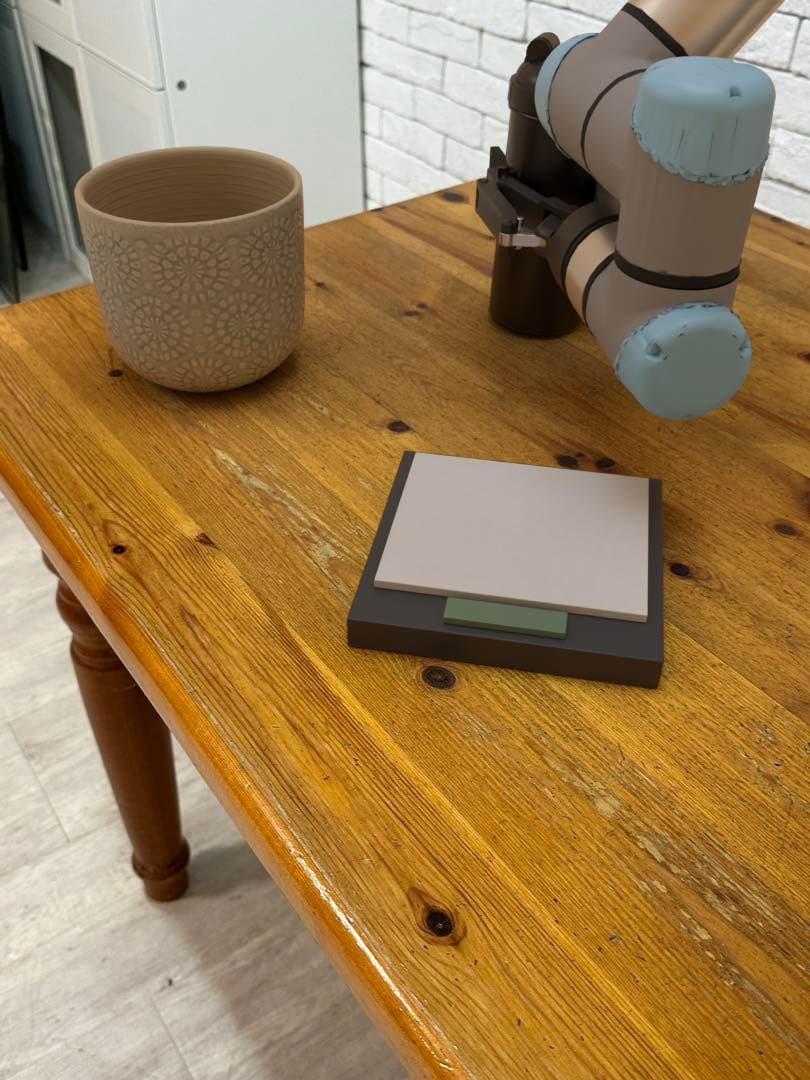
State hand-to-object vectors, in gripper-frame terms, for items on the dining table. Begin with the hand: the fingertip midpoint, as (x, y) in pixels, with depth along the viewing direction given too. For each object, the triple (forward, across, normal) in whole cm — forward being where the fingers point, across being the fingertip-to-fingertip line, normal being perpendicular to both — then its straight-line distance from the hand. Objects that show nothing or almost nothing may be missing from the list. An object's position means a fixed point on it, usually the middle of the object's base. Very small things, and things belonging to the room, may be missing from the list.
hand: (529, 160), depth 92 cm
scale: (-40, -10, -13) cm, 43 cm away
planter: (-9, -29, -13) cm, 33 cm away
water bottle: (-5, 0, -12) cm, 13 cm away
